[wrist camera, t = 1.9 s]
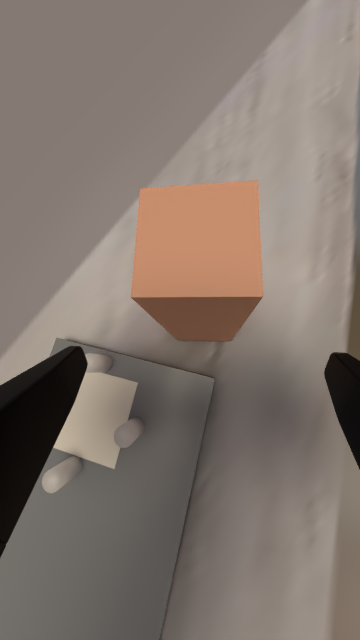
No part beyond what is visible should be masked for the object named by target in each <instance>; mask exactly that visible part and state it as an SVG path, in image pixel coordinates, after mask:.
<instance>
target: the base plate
mask: <svg viewBox="0 0 360 640" xmlns="http://www.w3.org/2000/svg"><path fill="white" fill-rule="evenodd" d="M69 346H81V347H82V349H83V351H84V354H85V356H86V359H87V362H88V366H87V370H86V372H85V375H84V378H83V381H82V384H81V386H80V389H79V392H78V395H77V397H76V400H75V402H74V405H73V407H72V409H71V411H70V413H69V415H68V418H67V420H66V422H65V424H64V426H63V428H62V430H61V432H60V434H59V436H58V438H57V440H56V443H55V445H54V447H53V449H52V451H51V453H50V455H49V457H48V459H47V461H46V463H45V466H44V468H43V470H42V472H41V474H40V476H39V478H38V480H37V482H36V484H35V486H34V489H33V491H32V493H31V495H30V497H29V499H28V501H27V503H26V505H25V507H24V509H23V511H22V514H21V516H20V518H19V520H18V522H17V524H16V526H15V528H14V530H13V532H12V534H11V537H10V539H9V541H8V543H7V544H6V547H5V549H4V552H3V554H2V556H1V558H0V640H159V639H160V635H161V630H162V625H163V620H164V616H165V611H166V606H167V602H168V597H169V592H170V587H171V583H172V578H173V573H174V569H175V564H176V559H177V555H178V550H179V545H180V540H181V536H182V531H183V526H184V522H185V517H186V512H187V507H188V503H189V498H190V493H191V489H192V484H193V479H194V475H195V470H196V465H197V460H198V456H199V451H200V446H201V442H202V437H203V432H204V427H205V423H206V418H207V413H208V409H209V404H210V399H211V394H212V390H213V385H214V380H215V378H212V377H208V376H205V375H201V374H197V373H193V372H189V371H185V370H181V369H177V368H173V367H170V366H166V365H162V364H158V363H154V362H150V361H146V360H142V359H138V358H134V357H131V356H127V355H123V354H119V353H115V352H111V351H107V350H103V349H99V348H95V347H92V346H88V345H84V344H80V343H76V342H72V341H68V340H64V339H59V338H56V341H55V343H54V346H53V349H52V352H51V355H50V357H51V356H53V355H54V354H56V353H58V352H60V351H61V350H63V349H65V348H67V347H69Z"/></svg>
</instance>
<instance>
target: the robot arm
mask: <svg viewBox="0 0 360 640" xmlns="http://www.w3.org/2000/svg"><path fill="white" fill-rule="evenodd" d="M87 366H88V362H87V359H86V356H85V354H84V351H83V349H82V347H81V346H69V347H67V348H65V349H63V350H61V351H60V352H58V353H56V354H54V355H53V356H51V357H49V358H47V359H46V360H44V361H42V362H40V363H39V364H37V365H35V366H34V367H32V368H30V369H28V370H27V371H25V372H23V373H21V374H20V375H18V376H16V377H14V378H13V379H11V380H9V381H7V382H6V383H4V384H2V385H0V558H1V556H2V554H3V552H4V549H5V547H6V544H7V543H8V541H9V539H10V537H11V534H12V532H13V530H14V528H15V526H16V524H17V522H18V520H19V518H20V516H21V514H22V511H23V509H24V507H25V505H26V503H27V501H28V499H29V497H30V495H31V493H32V491H33V489H34V486H35V484H36V482H37V480H38V478H39V476H40V474H41V472H42V470H43V468H44V466H45V463H46V461H47V459H48V457H49V455H50V453H51V451H52V449H53V447H54V445H55V443H56V440H57V438H58V436H59V434H60V432H61V430H62V428H63V426H64V424H65V422H66V420H67V418H68V415H69V413H70V411H71V409H72V407H73V405H74V402H75V400H76V397H77V395H78V392H79V389H80V386H81V384H82V381H83V378H84V375H85V372H86V370H87ZM324 375H325V379H326V383H327V386H328V389H329V392H330V396H331V399H332V402H333V405H334V409H335V412H336V415H337V418H338V420H339V423H340V425H341V428H342V430H343V432H344V435H345V437H346V439H347V442H348V444H349V446H350V448H351V451H352V453H353V455H354V458H355V460H356V462H357V465H358V466H359V469H360V361H359V360H357V359H356V358H354V357H352V356H351V355H349V354H348V353H339V352H334V353H332V354H331V355H330V357H329V360H328V362H327V365H326V368H325V371H324Z"/></svg>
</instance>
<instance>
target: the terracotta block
mask: <svg viewBox="0 0 360 640" xmlns="http://www.w3.org/2000/svg"><path fill="white" fill-rule="evenodd" d="M262 297H263V285H262V262H261V240H260V217H259V194H258V180H254V181H240V182H226V183H213V184H199V185H185V186H171V187H157V188H143V189H140V195H139V208H138V220H137V232H136V244H135V256H134V268H133V280H132V292H131V298H132V299H133V300H134V301H135V302H137V303H138V304H139V305H140V306H141V307H142V308H143V309H144V310H145V311H146V312H147V313H149V314H150V315H151V316H152V317H153V318H154V319H155V320H156V321H157V322H158V323H159V324H161V325H162V326H163V327H164V328H165V329H166V330H167V331H168V332H169V333H170V334H171V335H173V336H174V337H175V338H176V339H177V340H194V341H231V340H232V339H233V337H234V336H235V335H236V333H237V332H238V330H239V329H240V328H241V326H242V325H243V324H244V322H245V321H246V319H247V318H248V317H249V315H250V314H251V312H252V311H253V310H254V308H255V307H256V306H257V304H258V303H259V301H260V300H261V299H262Z"/></svg>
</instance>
